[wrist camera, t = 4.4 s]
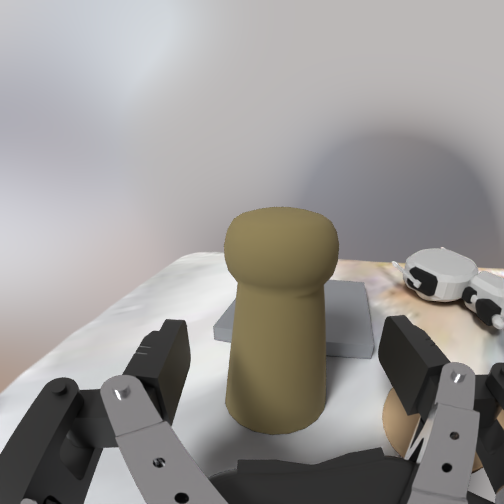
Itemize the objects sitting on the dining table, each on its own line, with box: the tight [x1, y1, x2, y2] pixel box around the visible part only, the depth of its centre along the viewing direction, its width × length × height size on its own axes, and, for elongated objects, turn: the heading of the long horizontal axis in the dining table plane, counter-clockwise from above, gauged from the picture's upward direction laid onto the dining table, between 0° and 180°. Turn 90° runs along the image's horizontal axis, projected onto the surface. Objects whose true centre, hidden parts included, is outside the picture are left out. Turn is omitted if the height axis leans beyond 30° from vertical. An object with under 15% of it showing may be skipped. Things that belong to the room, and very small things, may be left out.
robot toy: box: [392, 247, 504, 329], centre depth 25 cm, size 12×4×15 cm
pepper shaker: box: [224, 207, 339, 435], centre depth 14 cm, size 6×6×11 cm
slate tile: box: [213, 280, 374, 359], centre depth 26 cm, size 12×12×1 cm
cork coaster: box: [382, 388, 504, 474], centre depth 12 cm, size 9×9×1 cm
